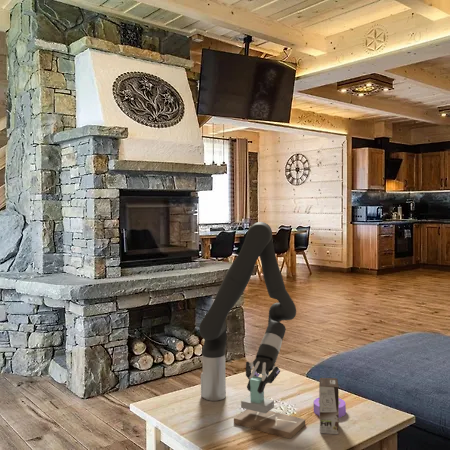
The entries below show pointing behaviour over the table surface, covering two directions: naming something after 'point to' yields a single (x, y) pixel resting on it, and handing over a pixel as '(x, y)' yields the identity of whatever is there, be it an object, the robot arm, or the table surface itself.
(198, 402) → the table surface
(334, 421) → the coffee box
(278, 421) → the walnut board
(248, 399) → the block
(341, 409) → the masking tape
